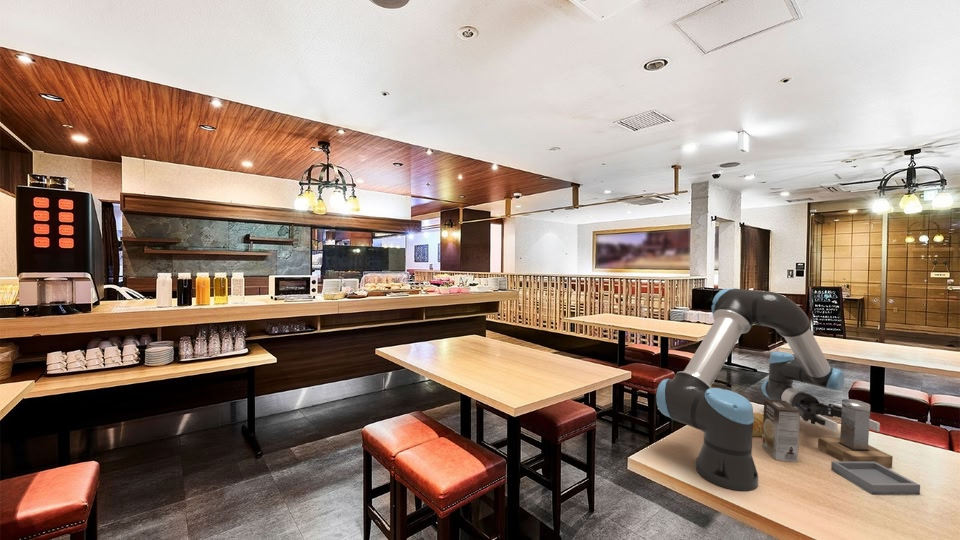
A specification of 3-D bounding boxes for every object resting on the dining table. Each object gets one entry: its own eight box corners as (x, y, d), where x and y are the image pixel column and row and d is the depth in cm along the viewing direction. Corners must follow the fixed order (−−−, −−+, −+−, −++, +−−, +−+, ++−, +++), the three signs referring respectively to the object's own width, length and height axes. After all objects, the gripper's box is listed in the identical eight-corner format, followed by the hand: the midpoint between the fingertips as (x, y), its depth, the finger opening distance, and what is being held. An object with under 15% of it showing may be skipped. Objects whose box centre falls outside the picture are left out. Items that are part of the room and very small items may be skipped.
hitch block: (852, 467, 118) (853, 456, 118) (817, 448, 130) (818, 437, 130) (891, 467, 119) (892, 456, 119) (853, 448, 131) (854, 437, 131)
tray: (872, 494, 105) (872, 485, 105) (831, 469, 117) (831, 461, 117) (919, 494, 106) (920, 485, 105) (874, 469, 118) (874, 461, 117)
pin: (852, 462, 121) (855, 406, 121) (833, 452, 128) (836, 398, 127) (873, 462, 121) (876, 406, 121) (853, 452, 128) (856, 399, 127)
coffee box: (760, 446, 131) (762, 398, 131) (782, 448, 130) (785, 400, 129) (775, 460, 122) (777, 409, 122) (799, 462, 121) (801, 411, 120)
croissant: (737, 447, 138) (747, 432, 134) (716, 423, 146) (725, 408, 142) (785, 440, 142) (796, 425, 138) (763, 417, 151) (773, 402, 147)
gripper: (833, 412, 145) (895, 439, 124) (766, 411, 145) (817, 439, 124) (834, 391, 145) (896, 415, 124) (767, 391, 144) (818, 415, 123)
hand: (857, 427), depth 124 cm, fingers open, 13 cm apart
